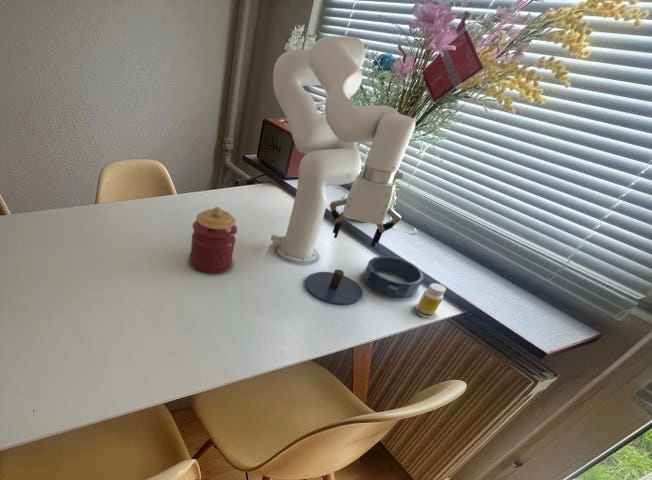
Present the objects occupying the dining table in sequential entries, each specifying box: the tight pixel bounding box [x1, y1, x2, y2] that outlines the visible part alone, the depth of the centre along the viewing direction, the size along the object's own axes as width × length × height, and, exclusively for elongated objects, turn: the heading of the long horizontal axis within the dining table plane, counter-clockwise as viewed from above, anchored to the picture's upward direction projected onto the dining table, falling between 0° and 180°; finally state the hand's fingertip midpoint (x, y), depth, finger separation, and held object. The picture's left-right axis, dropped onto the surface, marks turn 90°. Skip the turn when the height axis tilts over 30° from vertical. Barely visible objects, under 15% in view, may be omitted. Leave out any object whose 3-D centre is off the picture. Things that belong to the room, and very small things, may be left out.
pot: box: [362, 254, 424, 300], centre depth 127 cm, size 15×21×5 cm
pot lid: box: [304, 269, 364, 306], centre depth 123 cm, size 16×16×6 cm
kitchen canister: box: [189, 206, 238, 274], centre depth 126 cm, size 13×13×18 cm
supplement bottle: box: [415, 282, 447, 318], centre depth 116 cm, size 5×5×8 cm
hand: (354, 240), depth 114 cm, fingers open, 9 cm apart
